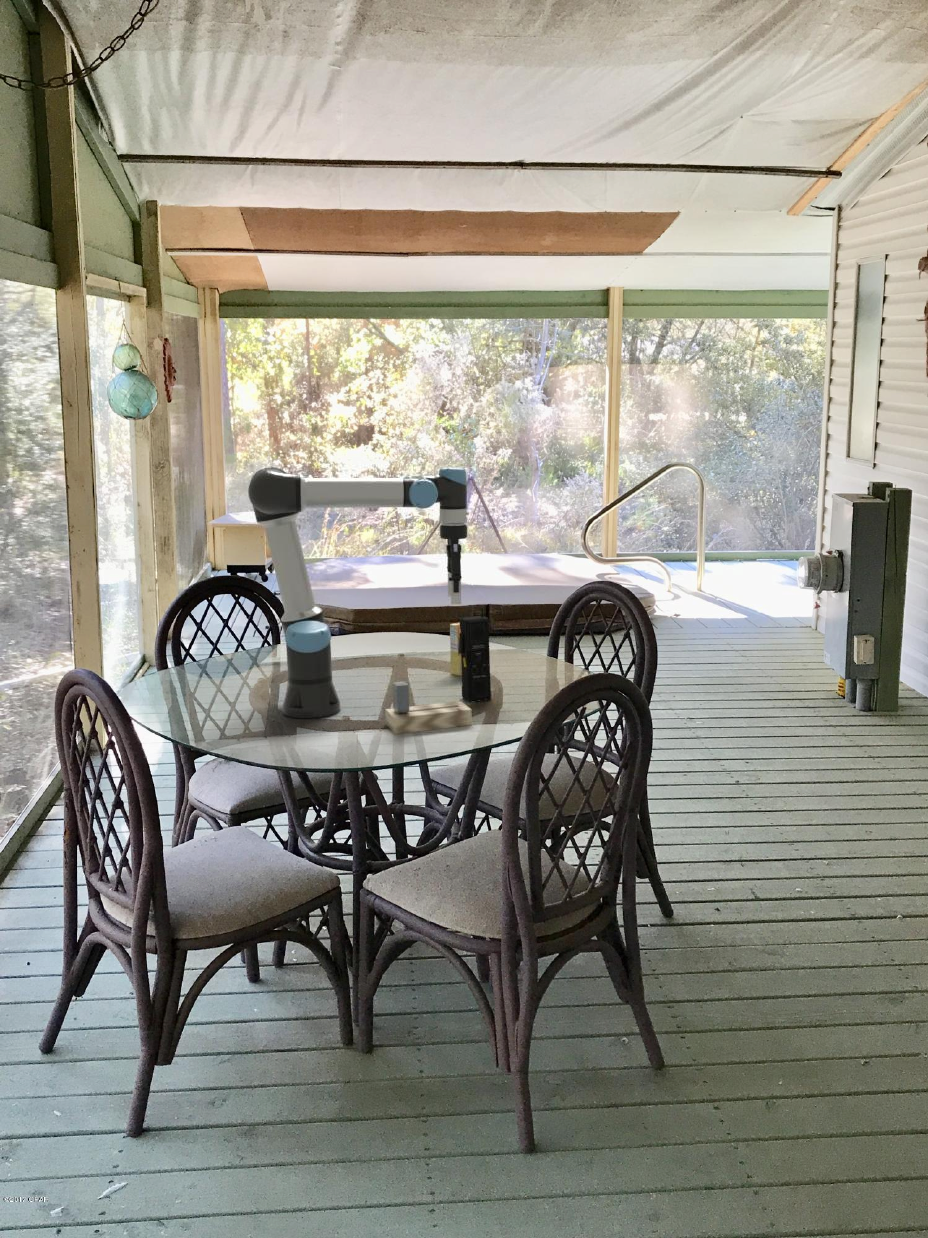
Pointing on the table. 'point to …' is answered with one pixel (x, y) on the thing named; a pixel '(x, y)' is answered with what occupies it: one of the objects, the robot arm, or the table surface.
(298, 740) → the table surface
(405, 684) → the blue-grey rectangular block
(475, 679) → the portable radio
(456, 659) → the candy box
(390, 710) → the wooden block with slot
